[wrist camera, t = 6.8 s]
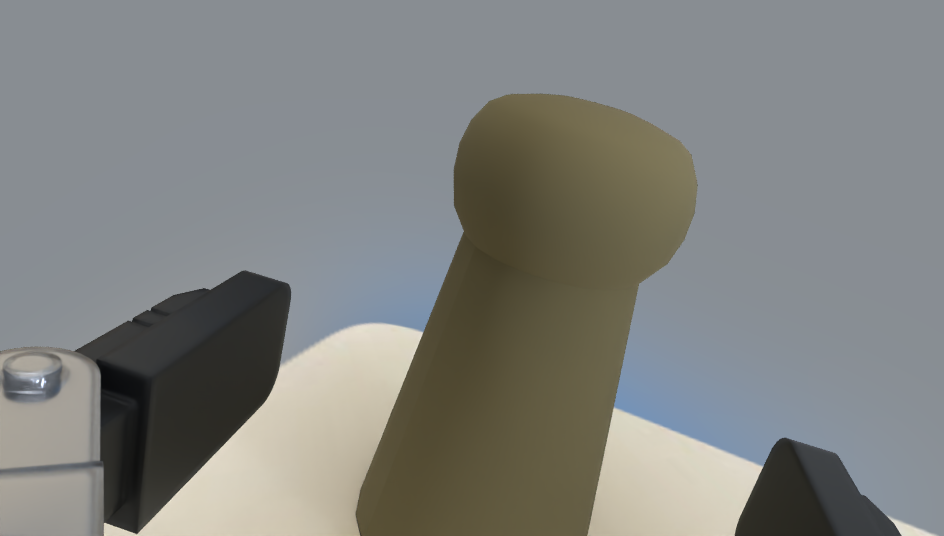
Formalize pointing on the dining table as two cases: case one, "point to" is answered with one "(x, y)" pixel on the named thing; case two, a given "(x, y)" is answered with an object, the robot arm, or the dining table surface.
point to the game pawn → (529, 321)
